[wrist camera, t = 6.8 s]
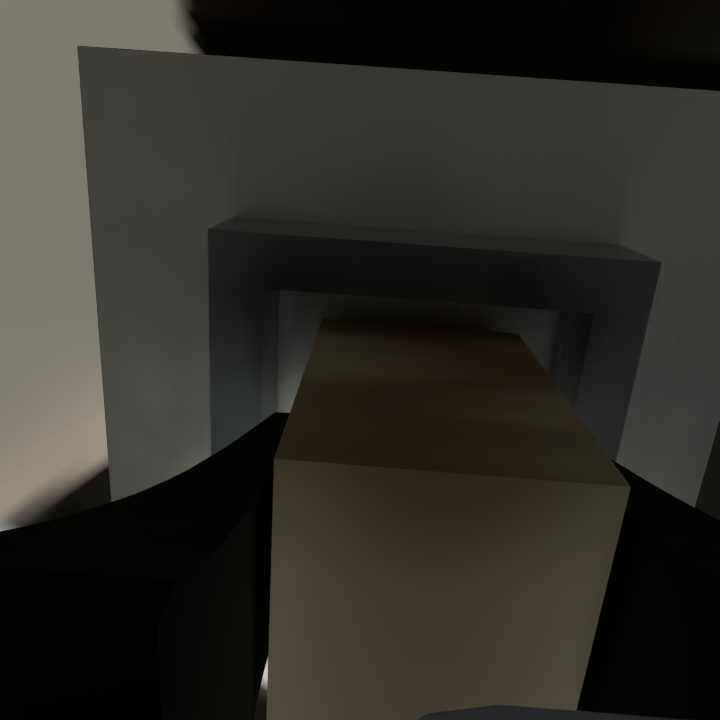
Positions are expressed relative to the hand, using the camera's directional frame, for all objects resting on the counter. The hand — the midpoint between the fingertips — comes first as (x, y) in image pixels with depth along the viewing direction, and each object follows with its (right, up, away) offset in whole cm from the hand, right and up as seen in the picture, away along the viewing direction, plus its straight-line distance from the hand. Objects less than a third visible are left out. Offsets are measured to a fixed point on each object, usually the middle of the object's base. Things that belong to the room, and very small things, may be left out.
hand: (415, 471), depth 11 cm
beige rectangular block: (0, +1, +2) cm, 2 cm away
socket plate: (0, +1, +3) cm, 3 cm away
